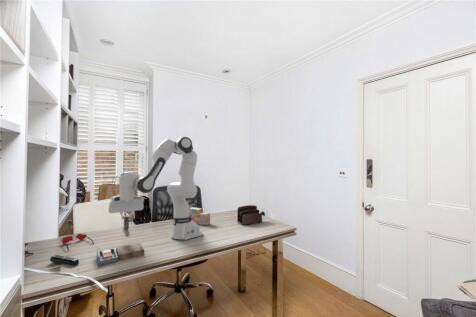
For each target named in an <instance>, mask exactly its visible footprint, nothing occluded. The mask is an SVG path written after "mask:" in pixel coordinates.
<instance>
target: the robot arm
mask: <svg viewBox="0 0 476 317" xmlns="http://www.w3.org/2000/svg"><path fill="white" fill-rule="evenodd" d="M173 154H176V155H179V156H182V158H181V159H182V160H181V162H180V166H179V170H178V175H179V176H180V181H174V182H170V183H169V184H168V185H167V187H166V191H167V194H168V195H169V196H170V198H171V200H172V201H171V202H172V205H173V206H172V207H173V217H172V232H171V235H170V238H172V239H175V240H185V241H187V240H191V239H193V238H197V237H200V236H203V235H204V234H203V231H201V230H200V229H201V228H200V226H199V224H196V223H194V222H193V221H192V220H194V217H191V216H189V208H190V205H189V202H187V200H186V199H192V198H194V197H196V195H197V193H198V188H197V186H196V185H195V178H194V176H195V171H196V167H197V161H198V154H197V152H196V151H195V150H194V146H193V141H192V140H191V138H190V137H188V136H182V137H180V138H178V139H177V140H176V141H173V139H171V138H166V139H164V140H163V141H162V142H160V144H159V145H158V146H157V147H156V148H155V150H154V152H153V153H152V156H151V158H152V159H151V160H152V161H153V164H152V166H151V168H150V170H149V171H148V172H147V173H146V175H144V176H142V175H139V174H137V173H135V172H134V171H125V172H122V173H121V174H120V176H119V185H118V186H119V192H118V194H116V195H114V196H111V197H110V202H109V204H108V213H109V214H115V213H116V214H117V213H119V214H120V216H121V220H124V217H125V216H126V215H123V214H124V213H126V212H130V214H128V215H127V216H129V219H132V215H133V214H134V211H135V212H136V211H143V210H144V208H145V207H144V202H145V198H144V196H142V195H138V196H137V195H135V192H136V191H139V192H140V193H142V194H148V193H150V192H152V191H153V190H154V188H155V185H156V181H157V179H158V177H159V175H160V174H161V172H162V170H163V169H164V167H165V165H166V164H167V162H168V160H169V159H170V158H171V156H172V155H173Z"/></svg>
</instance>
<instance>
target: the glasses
mask: <svg viewBox="0 0 476 317" xmlns="http://www.w3.org/2000/svg"><path fill="white" fill-rule="evenodd" d="M74 236H75V239H76V240H79V241H83V240H85V239H86V238H87V239H88V240H91V241H90V242H91V244H92V245H94V246H95V243H94V240H93V239H91V238H90V237H89V236H87V234H86V233H84V232H83V233H78V234H76V235H75V234H74V235H69V236H64V237H63V238H62V239H61V243H62V244H63V245H65V246H66V248H67V252H69V251H70V250H69V245H67V243H69V242H71V241H73V240H74Z"/></svg>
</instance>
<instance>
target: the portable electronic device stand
mask: <svg viewBox="0 0 476 317" xmlns="http://www.w3.org/2000/svg"><path fill="white" fill-rule="evenodd" d="M49 258H50V259H49V260H50V262H51V263H54V264H61V265H62V264H63V265H68V266H72V267H76V266H78V265H79V263H80V261H79V259H78V258H75V257H70V256H65V255H60V254H55V255H52V256H50V257H49Z"/></svg>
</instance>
